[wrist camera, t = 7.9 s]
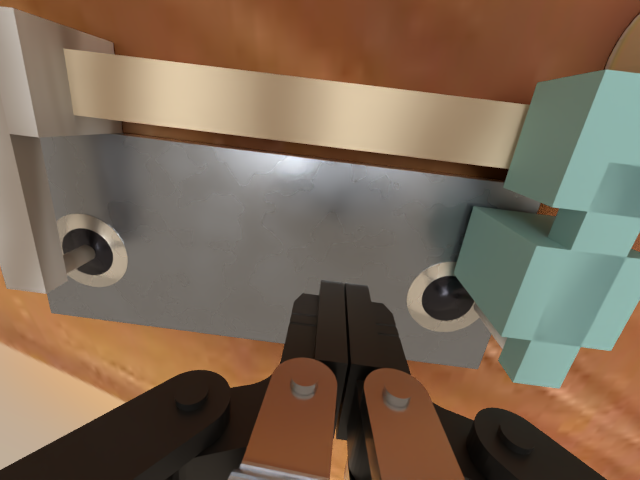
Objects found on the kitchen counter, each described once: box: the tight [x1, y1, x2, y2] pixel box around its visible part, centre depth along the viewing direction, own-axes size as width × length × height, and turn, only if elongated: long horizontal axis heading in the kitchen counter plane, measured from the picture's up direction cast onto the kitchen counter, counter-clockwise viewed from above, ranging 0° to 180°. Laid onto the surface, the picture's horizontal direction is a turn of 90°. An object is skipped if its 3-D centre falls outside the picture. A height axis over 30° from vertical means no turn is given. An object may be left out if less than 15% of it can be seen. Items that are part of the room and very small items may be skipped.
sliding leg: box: [454, 69, 640, 388], centre depth 13 cm, size 4×11×5 cm, turn 173°
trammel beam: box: [0, 6, 530, 294], centre depth 14 cm, size 26×11×5 cm, turn 83°
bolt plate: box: [40, 133, 541, 369], centre depth 17 cm, size 26×11×1 cm, turn 83°
